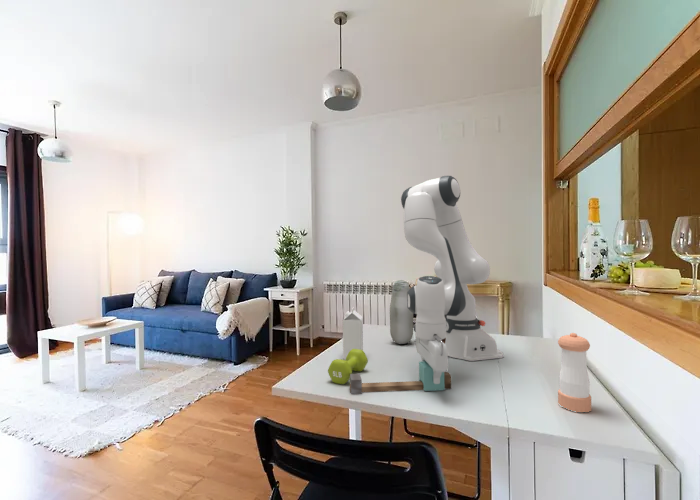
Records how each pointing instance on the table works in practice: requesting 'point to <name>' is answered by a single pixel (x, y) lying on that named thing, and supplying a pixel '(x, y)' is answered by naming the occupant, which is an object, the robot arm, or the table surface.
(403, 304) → the glass bottle
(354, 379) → the rail
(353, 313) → the milk carton
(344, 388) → the table surface
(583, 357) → the pepper shaker
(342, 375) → the dumbbell
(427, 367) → the block
